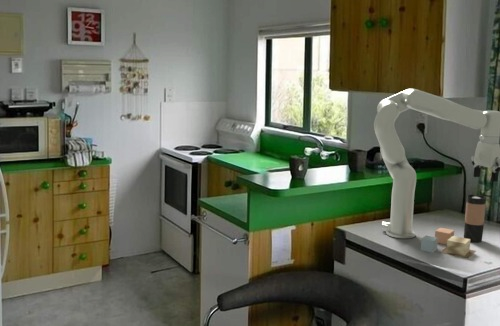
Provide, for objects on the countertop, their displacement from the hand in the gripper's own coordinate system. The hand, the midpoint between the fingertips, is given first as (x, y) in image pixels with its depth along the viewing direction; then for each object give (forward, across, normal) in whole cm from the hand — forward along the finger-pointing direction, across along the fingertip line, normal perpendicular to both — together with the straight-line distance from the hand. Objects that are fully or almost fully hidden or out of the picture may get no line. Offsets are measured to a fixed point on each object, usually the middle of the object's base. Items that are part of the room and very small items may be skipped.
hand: (485, 179), depth 247 cm
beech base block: (+25, +13, -25) cm, 38 cm away
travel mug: (+26, +4, -8) cm, 28 cm away
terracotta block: (+26, +1, -21) cm, 34 cm away
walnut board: (+26, +13, -25) cm, 38 cm away
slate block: (+26, +7, -34) cm, 44 cm away
